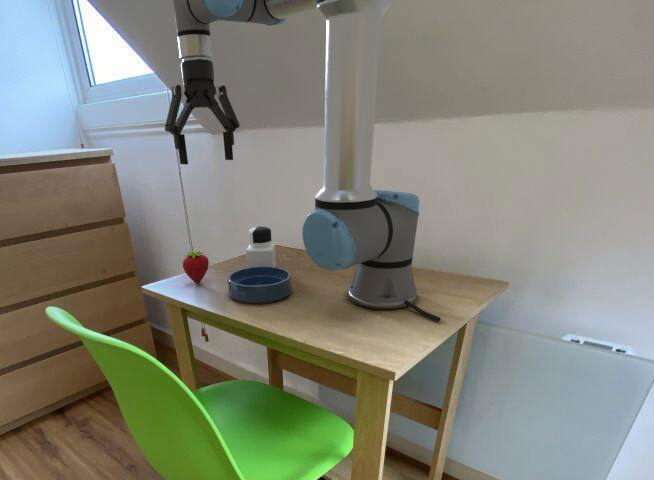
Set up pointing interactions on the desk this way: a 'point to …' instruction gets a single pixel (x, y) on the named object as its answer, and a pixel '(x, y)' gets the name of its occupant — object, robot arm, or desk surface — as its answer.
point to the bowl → (259, 284)
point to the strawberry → (195, 266)
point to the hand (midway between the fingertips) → (207, 162)
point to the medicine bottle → (260, 248)
